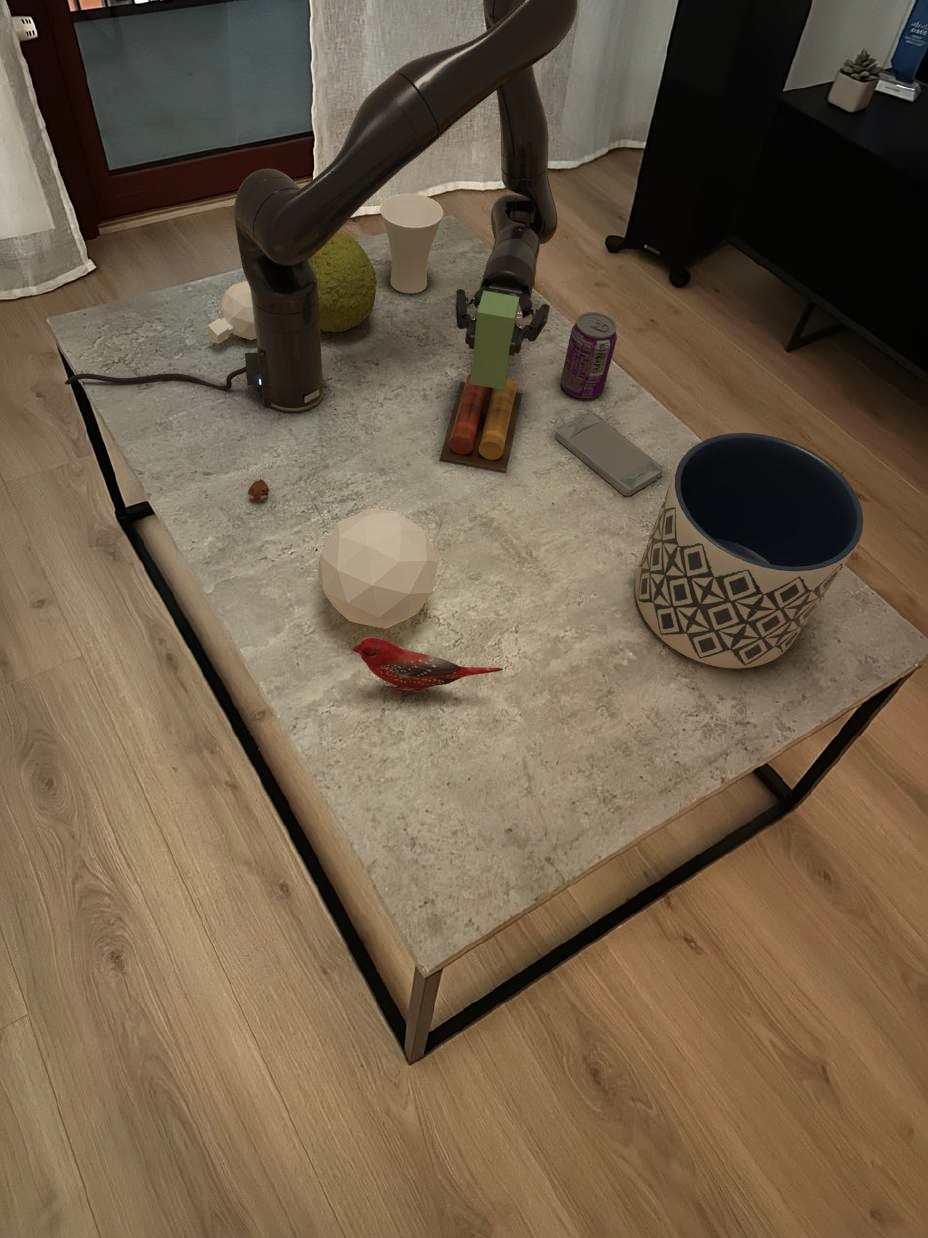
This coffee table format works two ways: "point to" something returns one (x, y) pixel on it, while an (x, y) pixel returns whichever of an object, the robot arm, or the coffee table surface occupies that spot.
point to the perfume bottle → (235, 315)
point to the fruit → (343, 283)
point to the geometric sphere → (377, 568)
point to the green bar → (493, 339)
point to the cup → (410, 238)
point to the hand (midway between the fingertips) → (492, 346)
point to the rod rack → (482, 426)
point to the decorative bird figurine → (411, 666)
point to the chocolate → (258, 489)
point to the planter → (745, 548)
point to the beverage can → (589, 355)
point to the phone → (609, 453)
